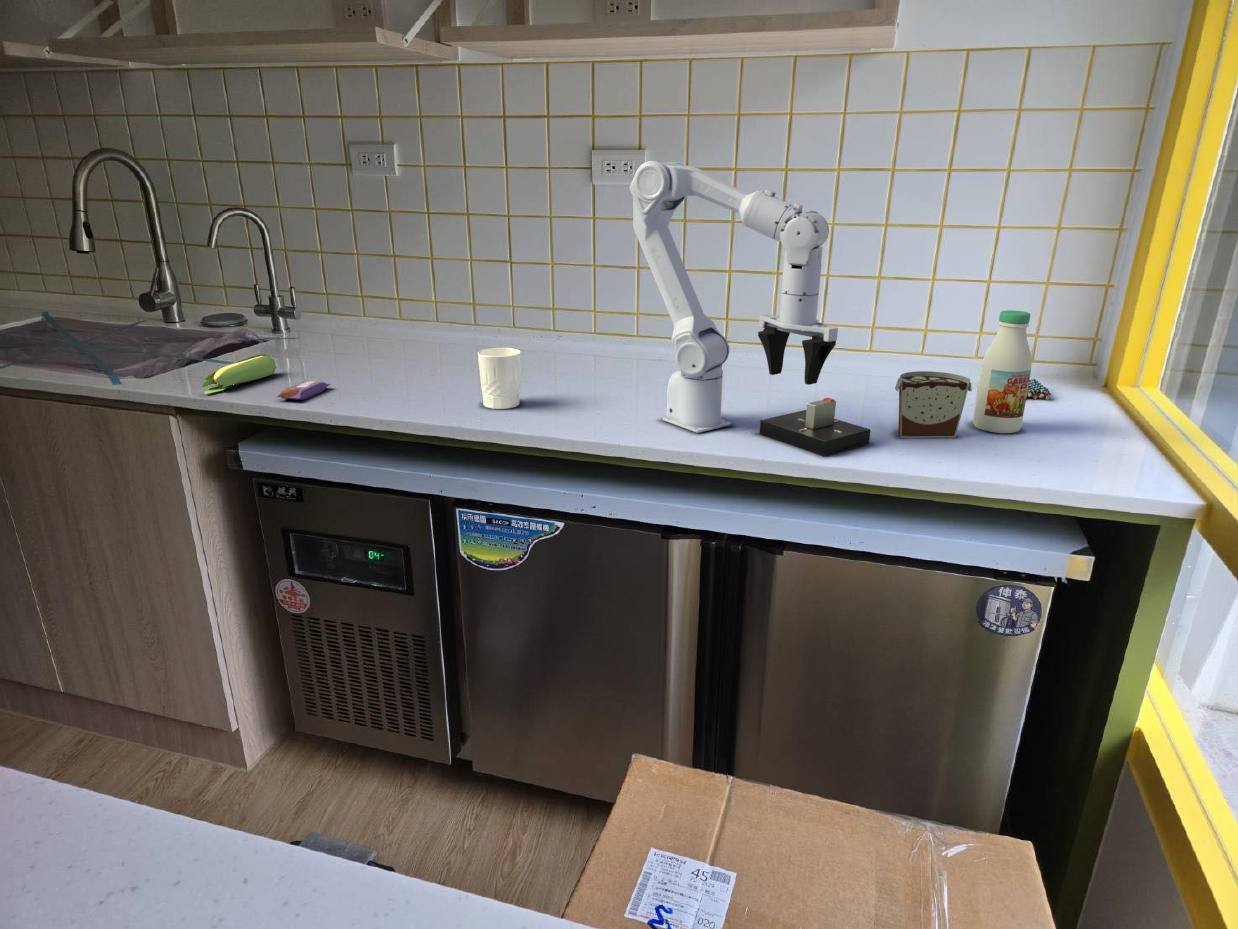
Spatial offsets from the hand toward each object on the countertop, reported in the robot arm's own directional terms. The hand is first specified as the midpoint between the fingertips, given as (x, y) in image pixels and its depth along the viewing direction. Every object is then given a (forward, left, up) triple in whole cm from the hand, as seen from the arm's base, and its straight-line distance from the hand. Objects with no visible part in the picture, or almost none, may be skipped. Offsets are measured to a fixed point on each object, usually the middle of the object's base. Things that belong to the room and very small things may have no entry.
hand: (792, 378), depth 132 cm
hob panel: (+3, +3, -10) cm, 11 cm away
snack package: (-73, -56, -10) cm, 93 cm away
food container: (+11, +21, -10) cm, 26 cm away
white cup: (-45, -29, -10) cm, 55 cm away
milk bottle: (+17, +34, -10) cm, 40 cm away
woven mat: (+6, +60, -10) cm, 62 cm away
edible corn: (-89, -65, -10) cm, 111 cm away
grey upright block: (+4, +3, -8) cm, 9 cm away
